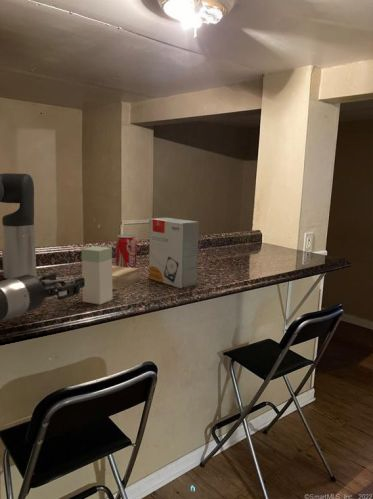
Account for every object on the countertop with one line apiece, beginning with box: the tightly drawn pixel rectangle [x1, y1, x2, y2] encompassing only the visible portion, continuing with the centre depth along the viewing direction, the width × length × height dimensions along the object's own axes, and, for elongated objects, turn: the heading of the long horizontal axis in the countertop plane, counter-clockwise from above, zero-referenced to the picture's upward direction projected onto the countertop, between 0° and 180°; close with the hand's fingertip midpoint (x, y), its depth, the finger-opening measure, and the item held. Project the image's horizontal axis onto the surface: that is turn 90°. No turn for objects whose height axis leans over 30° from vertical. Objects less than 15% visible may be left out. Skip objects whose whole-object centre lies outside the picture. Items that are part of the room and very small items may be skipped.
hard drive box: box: [148, 217, 200, 289], centre depth 124 cm, size 16×8×20 cm, turn 45°
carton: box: [81, 245, 114, 305], centre depth 103 cm, size 6×6×14 cm
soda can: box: [115, 234, 138, 269], centre depth 136 cm, size 7×7×13 cm
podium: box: [112, 265, 140, 291], centre depth 122 cm, size 12×12×4 cm
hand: (68, 279), depth 93 cm, fingers open, 8 cm apart
